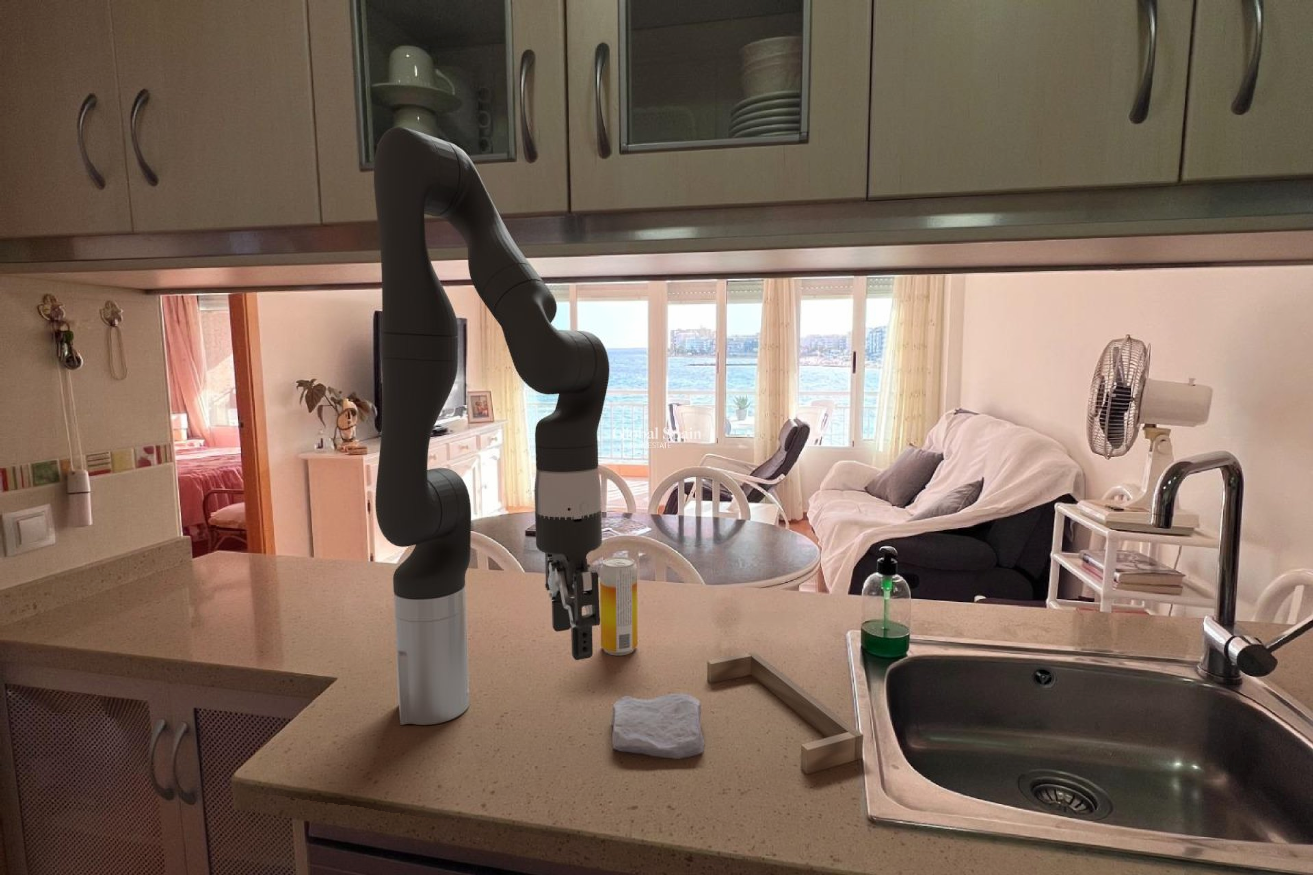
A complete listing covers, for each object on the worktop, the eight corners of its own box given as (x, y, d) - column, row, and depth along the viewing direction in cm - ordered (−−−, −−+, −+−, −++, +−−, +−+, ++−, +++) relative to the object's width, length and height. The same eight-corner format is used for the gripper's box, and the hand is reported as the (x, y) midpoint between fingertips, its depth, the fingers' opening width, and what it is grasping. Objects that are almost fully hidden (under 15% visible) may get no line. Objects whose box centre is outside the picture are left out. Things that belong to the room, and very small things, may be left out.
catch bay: (806, 774, 78) (807, 749, 78) (707, 679, 101) (707, 660, 101) (862, 757, 81) (863, 734, 81) (753, 669, 104) (753, 651, 104)
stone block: (708, 772, 82) (699, 714, 91) (707, 740, 80) (699, 684, 90) (610, 777, 82) (612, 719, 91) (608, 745, 80) (610, 689, 90)
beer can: (627, 638, 116) (627, 554, 114) (643, 652, 111) (643, 563, 109) (595, 645, 113) (594, 559, 112) (610, 659, 108) (609, 569, 106)
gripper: (522, 498, 82) (526, 626, 84) (551, 523, 69) (555, 675, 70) (581, 493, 85) (584, 617, 86) (620, 516, 72) (623, 662, 73)
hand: (571, 643), depth 78 cm, fingers open, 8 cm apart
